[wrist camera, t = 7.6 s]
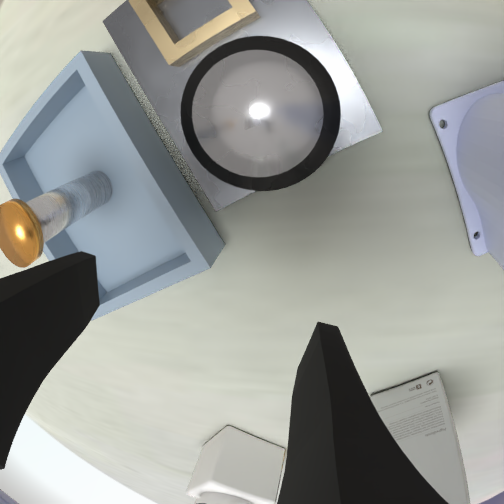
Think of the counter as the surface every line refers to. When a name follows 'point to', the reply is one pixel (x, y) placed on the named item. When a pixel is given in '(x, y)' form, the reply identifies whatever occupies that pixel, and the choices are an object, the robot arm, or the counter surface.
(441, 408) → the skincare box
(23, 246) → the lock pin
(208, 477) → the medicine bottle
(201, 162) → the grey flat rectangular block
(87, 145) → the tray
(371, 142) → the counter surface
